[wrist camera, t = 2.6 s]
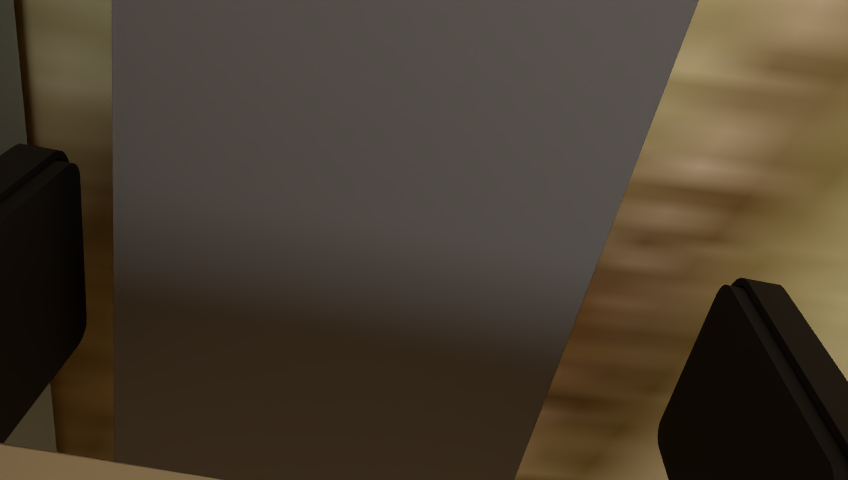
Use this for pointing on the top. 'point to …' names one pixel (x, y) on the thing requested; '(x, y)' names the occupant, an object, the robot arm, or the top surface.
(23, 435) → the door
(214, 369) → the doorstop block
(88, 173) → the top surface
